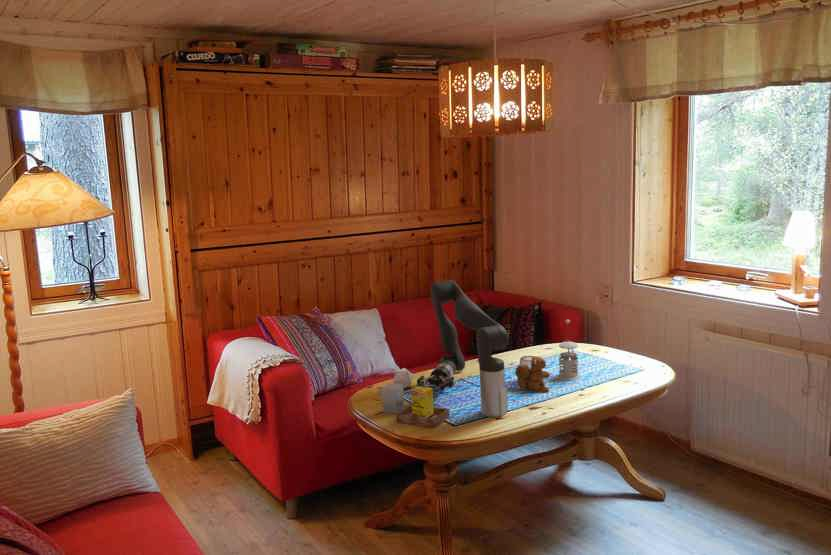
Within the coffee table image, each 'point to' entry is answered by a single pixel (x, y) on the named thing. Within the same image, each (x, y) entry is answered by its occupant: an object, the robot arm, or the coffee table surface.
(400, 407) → the grey tin box
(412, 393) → the supplement box
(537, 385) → the stuffed squirrel
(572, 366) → the french press
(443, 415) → the walnut tray
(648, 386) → the coffee table surface
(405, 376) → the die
